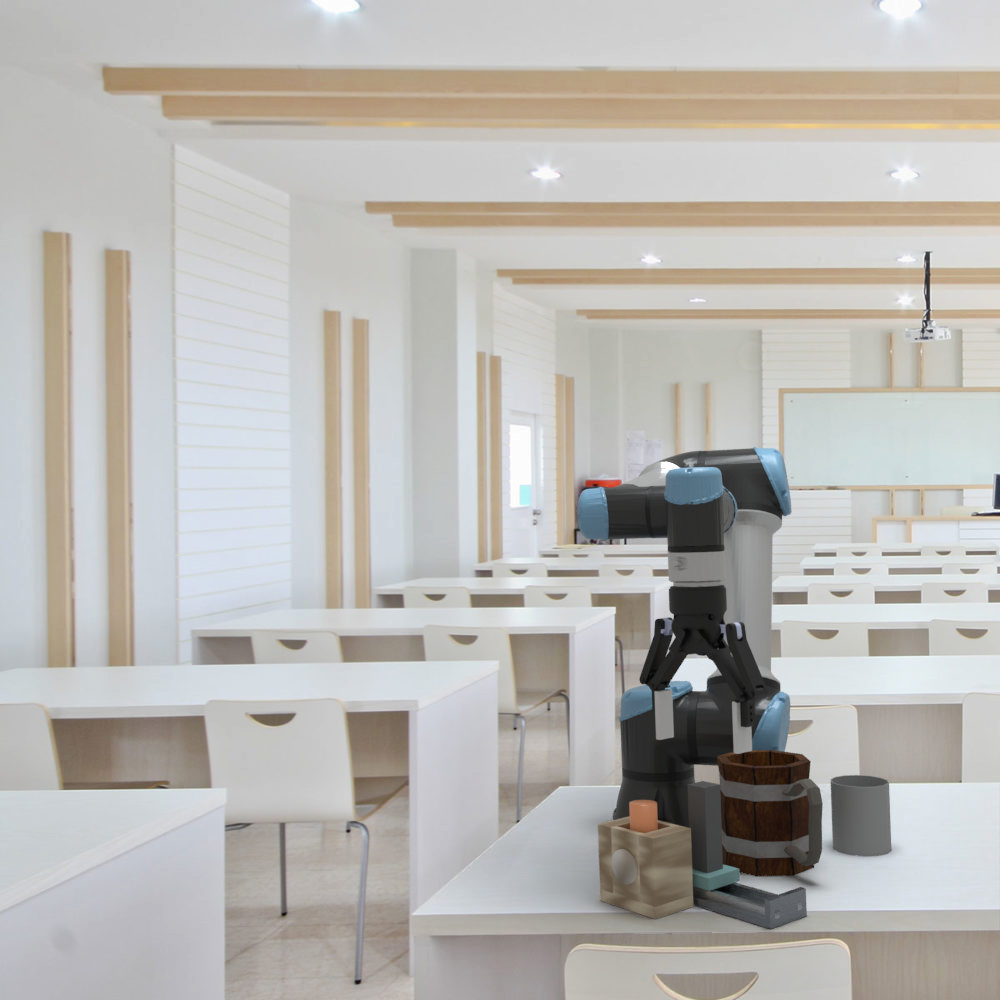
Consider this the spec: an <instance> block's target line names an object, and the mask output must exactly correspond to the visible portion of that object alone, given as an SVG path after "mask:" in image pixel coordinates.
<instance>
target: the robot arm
mask: <svg viewBox="0 0 1000 1000" xmlns="http://www.w3.org/2000/svg"><path fill="white" fill-rule="evenodd" d="M788 481H789V479H788V475H787V468H786V464H785V460H784V456H783V454H782V452H781V451H780V450H779V449H776V448H773V447H770V448H769V447H768V448H767V447H764V448H763V447H761V448H760V447H756V446H755V447H754V446H753V447H752V448H733V449H715V450H694V451H693V450H692V451H688V452H687V451H686V452H683V453H678V454H675V455H672V456H669V457H666V458H664V459H661V460H659V461H656V462H654V463H651V464H649V465H647V466H646V467H645V468H643V470H642V471H641V472H640V473H639V475H638V476H637V477H635V478H632V479H630V480H628V481H626V482H623V483H621V484H619V485H616V486H613V487H603V486H599V487H597V488H595V487H593V488H587V489H584V490H583V491H581V493H580V495H579V497H578V502H577V508H576V509H577V513H576V514H577V523H578V528H579V531H580V534H582V537H584V538H585V539H586V540H602V541H608V540H631V539H632V540H634V539H667V540H666V541H667V542H666V543H667V567H668V569H667V570H668V581H669V582H670V583H672V584H673V585H671V586H670V587H669V588H668V609H669V612H670V614H672V615H673V618H672V617H662V618H661V617H660V618H656V619H655V620H654V629H653V630H654V631H653V632H654V633H653V637H652V640H651V643H650V646H649V648H648V649H649V650H648V652H647V655H646V658H645V661H644V664H643V667H642V670H641V673H640V675H639V680H638V681H639V683H640V684H641V685H640V686H636V687H632V688H629V689H628V690H626V691H624V692H623V693H622V696H621V698H620V711H619V712H620V716H619V717H618V718H619V719H618V720H619V723H620V746H621V747H620V750H621V751H620V752H621V754H620V755H621V771H622V772H621V784H620V789H619V791H618V796H617V799H616V800H617V801H616V807H615V808H614V809H613V813H612V820H616V819H621V818H625V817H629V816H630V810H629V803H630V802H631V801H635V800H652V801H655V802H657V815H658V820H659V821H663V822H667V823H671V824H675V825H679V826H683V827H687V828H689V814H688V784H692V783H696V780H695V765H697V766H698V765H700V766H717V767H718V762H717V756H719V755H723V754H727V753H731V752H734V753H736V754H740V753H745V752H749V751H752V750H776V751H783V752H786V747H787V743H788V738H789V731H790V722H791V698H790V695H789V694H788V693H786V692H784V691H781V681H780V680H779V679H778V678H777V677H776V676H775V675H774V673H773V672H772V619H773V618H772V616H773V615H772V614H773V613H772V612H773V610H772V608H773V604H772V603H773V602H772V601H773V597H772V596H773V536H774V534H775V533H776V532H778V531H779V530H780V529H781V528H782V525H783V517H787V516H789V515H791V514H792V511H793V510H792V500H791V493H790V492H791V491H790V485H789V482H788ZM673 635H674V636H675V638H674V639H673ZM672 639H673V641H672ZM688 655H697V656H702V657H705V656H707V658H708V659H709V660H710V661H712V662H713V664H714V665H715V666H716V670H715V671H714V672H712V673H711V675H709V676H708V677H707V678H706V690H701V691H699V690H694V687H693V685H692V683H691V682H690V681H689V680H673V678H674V676H675V675H676V674H677V672H678V670H679V669H680V667H681V666H682V664H683V662H684V661H685V659H686V658H687V656H688ZM672 680H673V681H672Z"/></svg>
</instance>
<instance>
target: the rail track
mask: <svg viewBox="0 0 1000 1000" xmlns="http://www.w3.org/2000/svg"><path fill="white" fill-rule="evenodd" d="M693 906H695V907H699V908H702V909H705V910H708V911H712V912H715V913H718V914H722V915H725V916H728V917H731V918H734V919H736V920H741V921H744V922H747V923H750V924H754V925H757V926H758V927H759V926H760V927H762V928H764V929H765V928H766V929H770V930H773V929H775V928H778V927H780V926H783V925H786V924H789V923H791V922H794V921H797V920H799V919H802V918H806V917H807V916H808V915H807V914H808V913H807V912H808V911H807V888H805V887H802V886H800V887H796V888H793V889H791V890H789V891H785V892H782V893H779V894H777V893H775V892H774V893H773V892H770V891H767V890H764V889H760V888H756V887H752V886H749V885H745V884H742V883H738V882H735V883H732V884H729V885H726V886H723V887H720V888H716V889H713V890H710V891H708V890H704V889H701V888H698V887H694V886H693Z"/></svg>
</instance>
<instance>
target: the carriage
mask: <svg viewBox="0 0 1000 1000" xmlns="http://www.w3.org/2000/svg"><path fill="white" fill-rule="evenodd" d="M688 814H689V828H691V845H692V876H693V886H694V887H698V888H701V889H704V890H708V891H710V890H713V889H716V888H720V887H723V886H726V885H729V884H732V883H738V882H740V879H741V877H740V874H741V873H739V869H738V868H735V867H731V866H727V865H724V864H723V855H722V825H721V795H720V783H714V782H710V781H705V780H701V781H698V782H696V781H695V783H692V784H688Z"/></svg>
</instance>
